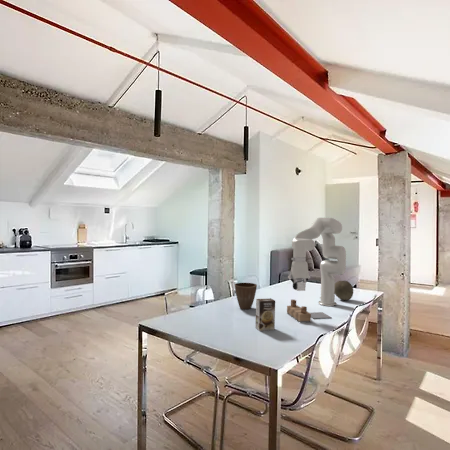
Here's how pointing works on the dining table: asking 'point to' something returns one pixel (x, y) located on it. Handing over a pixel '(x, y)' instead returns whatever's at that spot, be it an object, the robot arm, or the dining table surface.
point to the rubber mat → (319, 315)
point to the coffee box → (265, 314)
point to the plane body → (298, 312)
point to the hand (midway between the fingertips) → (299, 288)
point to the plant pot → (245, 294)
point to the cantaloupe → (343, 290)
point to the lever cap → (300, 285)
